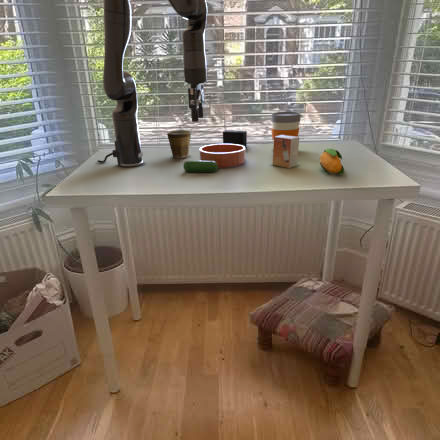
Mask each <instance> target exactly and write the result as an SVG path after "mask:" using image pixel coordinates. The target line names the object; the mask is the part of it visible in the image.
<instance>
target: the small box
mask: <svg viewBox="0 0 440 440" xmlns="http://www.w3.org/2000/svg"><path fill="white" fill-rule="evenodd" d="M272 147H273V149H272V166H276V167H277V166H278V167H281V168H286V169H291V168H293V167H296V166H298V158H299V147H300V136H298V137H295V136H286V135H279V136H275V137H274V143H273V146H272Z"/></svg>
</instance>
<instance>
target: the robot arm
mask: <svg viewBox="0 0 440 440" xmlns="http://www.w3.org/2000/svg"><path fill="white" fill-rule="evenodd" d="M167 1H168V2H169V5H170V6H171V8H172V9H173V11H174V12H175V14H177V15H178V16H179V17H181V18H182V19H184V20H187V28H186V29H185V30H183V32H182V35H181V37H182V38H181V39H182V53H183V54H182V66H183V79H184V83H185V84H187V85H190V87H189V88H188V87H187V96H188V97H187V98H188V108H189V109H190V110H191V111H190V112H191V113H190V115H191V121H192V123H198V122H199V119H203V118H204V105H205V102H206V101H205V87H204V84H205V83H207V82H208V77H207V76H208V75H207V74H208V73H207V57H206V50H205V49H206V46H205V32H206V25H207V19H208V18H207V17H208V5H207V0H167ZM132 12H133V11H132V3H131V0H103V30H104V31H103V35H104V36H103V37H104V41H103V43H104V54H103V55H104V59H103V73H102V86H103V91H104V93H105V95H106V97H107V98H108V99H109V100H111V101H115V102H116V105H115V108H114V109H113V110H112V112H111V116H112V118H111V119H112V124H113V128H114V136H115V140H114V148H115V149H112V150H111V153H108V154H106V155H105V157H104V159H103V160H101V159H100V160H99V159H97V163H100V164H105V163H106V162H107V159H108V158H109V157H111V156H112V157H113V158H116V160H117V166H118V167H122V168H133V167H139V166H142V165H143V164H144V161H143V160H144V159H143V156H144V153H143V151H142V146H141V139H140V138H141V137H140V130H139V124H138V108H139V105H138V93H137V86H136V81H135V79H134V77H133V76H132V74H131V73H129V71H124V68H123V67H124V66H123V65H124V56H125V52H126V49H127V46H128V44H129V41H130V38H131V35H132V28H133V27H132V23H133V22H132V21H133V20H132V19H133V15H132V14H133V13H132Z"/></svg>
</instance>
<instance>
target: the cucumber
mask: <svg viewBox="0 0 440 440" xmlns="http://www.w3.org/2000/svg"><path fill="white" fill-rule="evenodd" d="M182 168H183V170H184V171H185V172H187V173H214V172H216V171H218V169H219V168H218V165H217V163H216V162H215V161H200V160H185V162H184V163H183V166H182Z"/></svg>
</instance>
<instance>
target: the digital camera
mask: <svg viewBox="0 0 440 440" xmlns="http://www.w3.org/2000/svg"><path fill="white" fill-rule="evenodd" d="M247 134H248V131H247V130H236V129H235V130H233V129H226V130H224V131H222V144H237V145H242V146H244V147H245V148H247V146H248V145H247V142H248V139H247V138H248V135H247Z"/></svg>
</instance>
